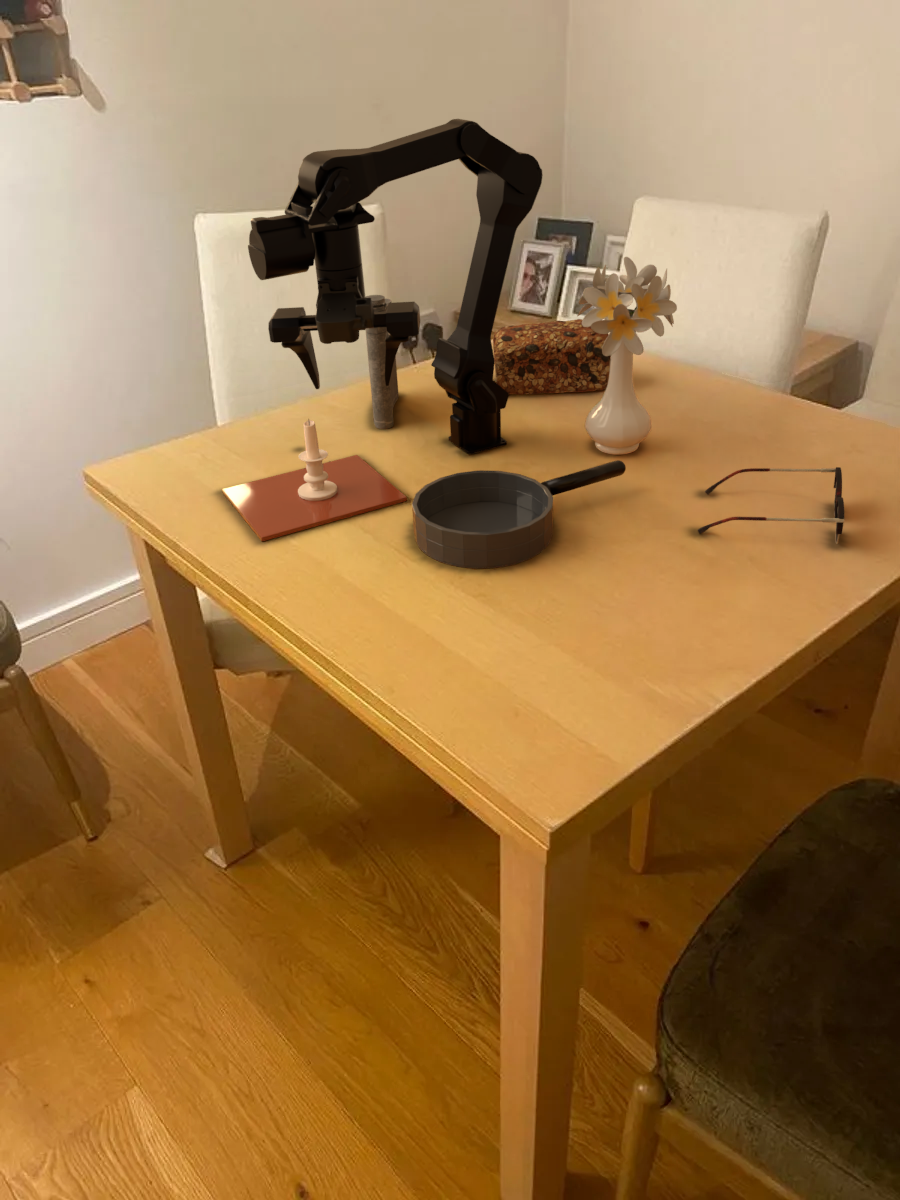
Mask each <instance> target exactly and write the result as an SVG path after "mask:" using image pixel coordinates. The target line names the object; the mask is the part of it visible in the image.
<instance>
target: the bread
mask: <svg viewBox="0 0 900 1200" xmlns="http://www.w3.org/2000/svg"><path fill="white" fill-rule="evenodd" d="M582 320H583V318H582V319H581V318H577V319H570V320H552V321H549V322H548V321H544V322H540V323H523V324H517V325H516V324H515V325H506V326H505V325H504V326H502V327H500V328H498V329H497V330H495V331H494V332H493V335H492V336H493V338H492V349H493V355H494V360H495V363H494V374H495V380H496V381H495V382H496V383H497V384H498V385H499V386H501V387H502V388H503V389H504V390H505V391H506V392H508V393H509V395H520V396H521V395H527V394H528V395H540V394H559V393H561V394H563V393H567V392H568V393H569V392H570V393H583V392H584V393H585V392H595V391H597V390H599V391H600V390H601V391H604V390H606V388H607V384H608V379H609V372H610V361H611V355H610V356H605V355H603V354H602V347H603V344H604V342H605V340H606V338H607V337H608V335H609V333H608V334H600V333H597V332H595V331H593V330H592V329H591V326H589V327H583V325H582Z"/></svg>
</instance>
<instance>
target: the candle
mask: <svg viewBox="0 0 900 1200" xmlns="http://www.w3.org/2000/svg"><path fill="white" fill-rule="evenodd" d="M317 433H318V432H317V427H316V422H315V421H314V420H313V419H310V418H308V420H305V421H304V422H303V435H304V443H305V450H304V451H301V452H300V453H299V454H298V460H300V461H302V462H305V464H306V465H305V468H306V469H307V472H308V473H306V474H305V475H304V480H305V481H306V482H307V483H305V484H303V485H302V486H300V487H299V489H298V495H299V496H300V497H301V498H302V499H305V500H309V501H320V500H325V499H328V498H331V497H332V496H334V495H335V494H336V493H337V486H336V484H334V483H333V482H330V481H326V480H327V479H328V474H327V472H325V471H323V460H324V459H326V458H328V456H329V452H328V451H327V450H325V449H323V448H321V449H320V447H319V440H318V434H317Z"/></svg>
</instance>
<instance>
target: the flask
mask: <svg viewBox="0 0 900 1200" xmlns="http://www.w3.org/2000/svg"><path fill="white" fill-rule="evenodd" d="M365 298H371V300H372V303H373V309H374V312H384V311H386V310H387V306H388V303H393V302H392V299H390V298H386V297H385V296H384V295H382V294H370V295H365ZM386 335H387V329H386V327H378V328H366V329H365V338H366V339H365V340H366V350H367V361H368V362H367V363H368V371H369V372H368V373H369V383H370V392H371V393H370V394H371V404H372V405H371V406H372V416H373V424H374V427H375V428H376V429H378V430H388V429H390V428H393V427H394V426H395V424H394V407H395V404H396V403H397V401H398V400H399V397H400V395H399V394H400V393H399V384H398V383H399V381H398V369H397V355H396V356H395V359H394V364H393V368H392V373H391V378H390V383H389V386H386V383H385V351H386V347H385V339H386Z"/></svg>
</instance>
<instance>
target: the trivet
mask: <svg viewBox="0 0 900 1200" xmlns="http://www.w3.org/2000/svg"><path fill="white" fill-rule="evenodd" d="M322 464H323V471H325V472H327V474H328V479H327V480H326V481H330V482H333V483H334V484H336V486H337V493H336V494H335V495H334V496H332V497H331V498H328V499H325V500H320V501H309V500H305V499H302V498H301V497H300V496H299V495H298V489H299V487H300V486H302V485H303V484H305V483H307V482H306V481H305V480H304V475H305V474H306V473H308V472H307V469H306V467H305V468H300V469H296V470H291V471H288V472H284V473H280V474H276V475H273V476H268V477H264V478H261V479H257V480H253V481H252V480H251V481H248V482H245V483H242V484H237V485H233V486H229V487H225V488H221V491H222V494H223V495H224V497H225V498H226V499H227V500H228V501H229V503H230V504H231V505H232V506H233V508H234V509H235V510H236V511H237V513H238V514H239V515H240V517H241V518H242V519H243V520H244V521H245V522H246V524H247V525H248V526H249V527H250V528H251V530H252V531H253V533H255V535H256V536H257V537H258V539H259V540H260V541H261V542H265V541H269V540H272V539H276V538H280V537H284V536H287V535H290V534H294V533H297V532H301V531H305V530H308V529H313V528H315V527H318V526H322V525H327V524H330V523H333V522H336V521H341V520H345V519H347V518H351V517H355V516H358V515H361V514H365V513H369V512H372V511H375V510H379V509H383V508H387V507H389V506H394V505H397V504H402V503H404V502H407V501H408V499H407V496H406V495H405V494H404V493H403V492H401V491H400V490H399V489H398V488H397V487H396V486H394V485H393V484H392V483H391V482H390V481H388V479H386V478H385V477H384V476H383V475H381V474H380V473H379V472H378V471H376V469H374V468H373V467H372V466H371V465H369V464H368V463H367V462H366V461H365V460H364V459H362V458H361V457H360V456H359V455H358V454H355V455H351V456H347V457H343V458H339V459H335V460H331V461H327V462H322Z"/></svg>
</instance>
